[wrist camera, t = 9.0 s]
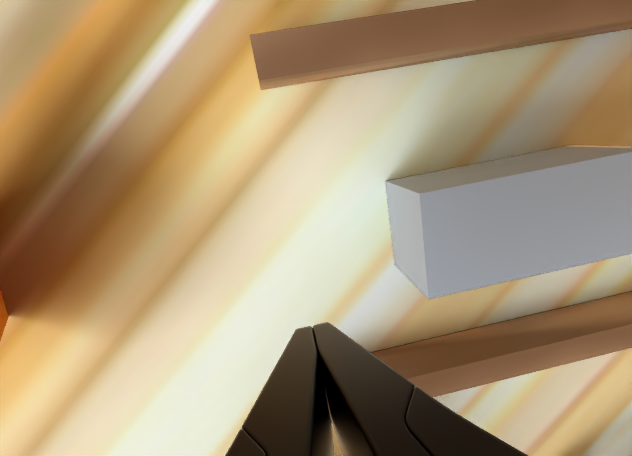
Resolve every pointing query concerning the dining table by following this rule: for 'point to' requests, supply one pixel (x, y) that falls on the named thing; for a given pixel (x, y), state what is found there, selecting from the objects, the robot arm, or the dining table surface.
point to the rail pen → (439, 44)
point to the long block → (511, 217)
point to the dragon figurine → (2, 315)
